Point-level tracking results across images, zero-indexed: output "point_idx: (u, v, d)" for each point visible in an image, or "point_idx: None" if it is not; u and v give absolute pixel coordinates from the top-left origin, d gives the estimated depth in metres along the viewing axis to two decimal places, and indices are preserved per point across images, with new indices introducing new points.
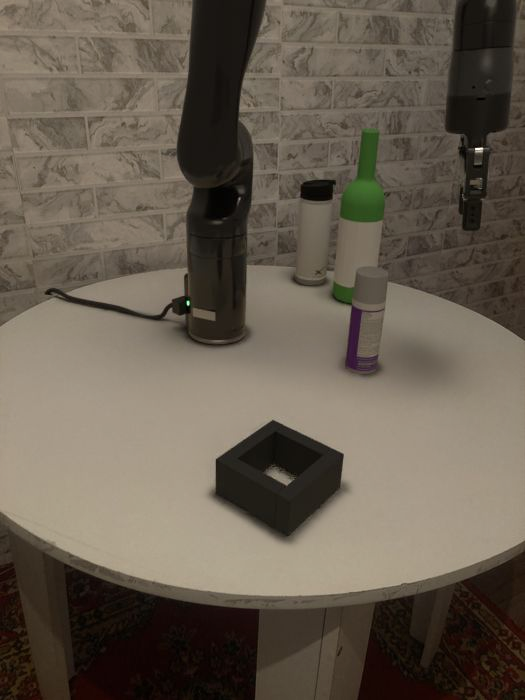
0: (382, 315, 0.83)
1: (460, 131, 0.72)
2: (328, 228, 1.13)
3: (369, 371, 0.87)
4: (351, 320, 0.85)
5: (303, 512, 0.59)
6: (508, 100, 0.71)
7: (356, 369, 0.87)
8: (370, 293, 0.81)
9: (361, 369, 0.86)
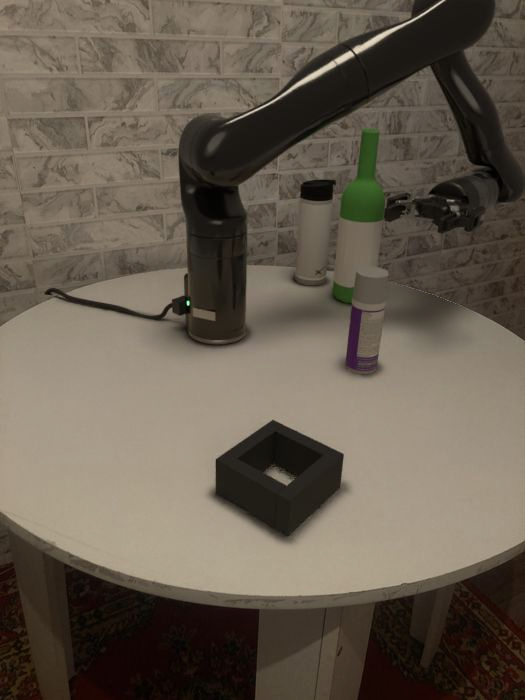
0: (382, 315, 0.83)
1: (468, 196, 0.92)
2: (328, 228, 1.13)
3: (369, 371, 0.87)
4: (351, 320, 0.85)
5: (303, 512, 0.59)
6: None
7: (356, 369, 0.87)
8: (370, 293, 0.81)
9: (361, 369, 0.86)
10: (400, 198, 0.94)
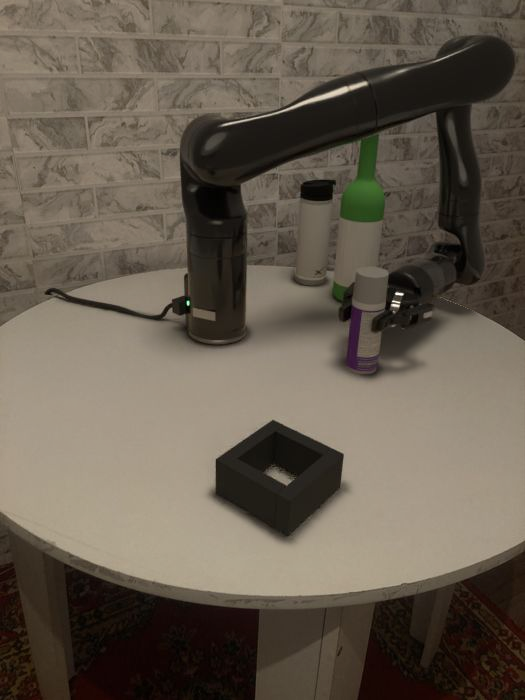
0: None
1: (420, 288, 0.89)
2: (328, 228, 1.13)
3: (369, 371, 0.87)
4: (351, 320, 0.85)
5: (303, 512, 0.59)
6: None
7: (356, 369, 0.87)
8: (370, 293, 0.81)
9: (361, 369, 0.86)
10: None
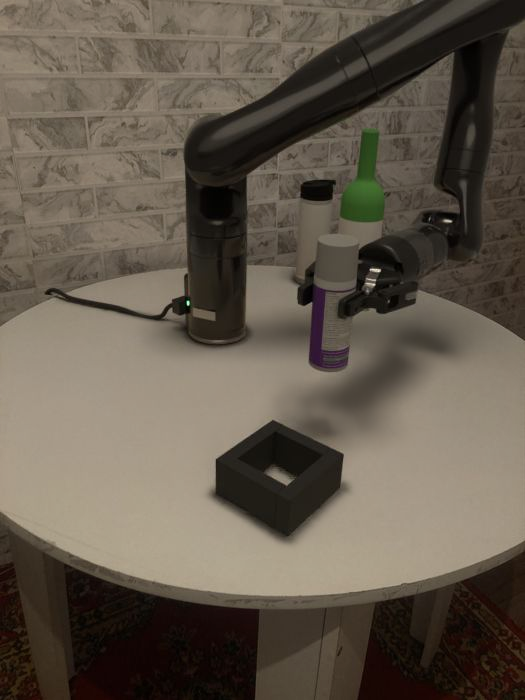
0: None
1: (402, 263, 0.71)
2: (328, 228, 1.13)
3: (337, 368, 0.68)
4: (313, 303, 0.66)
5: (303, 512, 0.59)
6: None
7: (321, 366, 0.68)
8: (335, 267, 0.63)
9: (327, 366, 0.68)
10: None
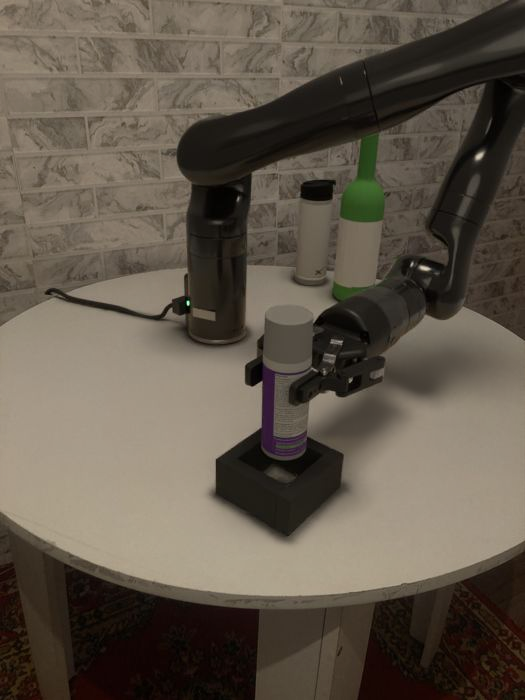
0: None
1: (369, 331, 0.62)
2: (328, 228, 1.13)
3: (293, 456, 0.59)
4: (263, 384, 0.57)
5: (303, 512, 0.59)
6: None
7: (274, 453, 0.59)
8: (285, 348, 0.54)
9: (281, 453, 0.59)
10: None
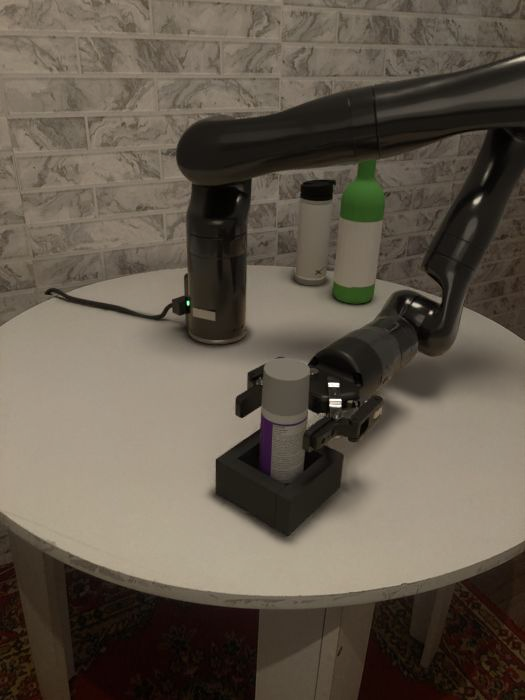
0: (303, 428, 0.59)
1: (362, 373, 0.64)
2: (328, 228, 1.13)
3: None
4: (261, 433, 0.60)
5: (303, 512, 0.59)
6: None
7: None
8: (282, 401, 0.56)
9: None
10: None
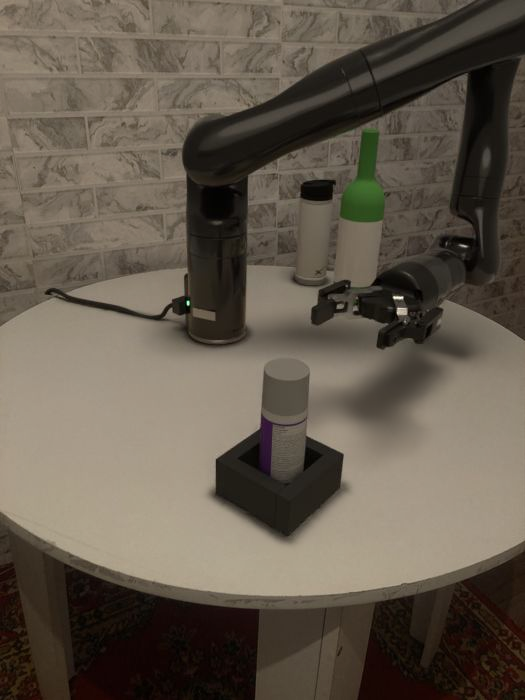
0: (303, 428, 0.59)
1: (422, 290, 0.71)
2: (328, 228, 1.13)
3: None
4: (261, 433, 0.60)
5: (303, 512, 0.59)
6: None
7: None
8: (282, 401, 0.56)
9: None
10: (336, 289, 0.73)
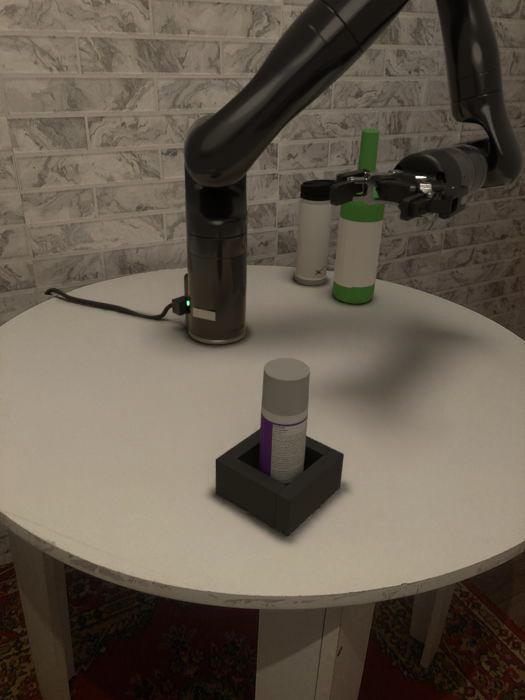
0: (303, 428, 0.59)
1: (445, 172, 0.68)
2: (328, 228, 1.13)
3: None
4: (261, 433, 0.60)
5: (303, 512, 0.59)
6: None
7: None
8: (282, 401, 0.56)
9: None
10: (354, 175, 0.70)
